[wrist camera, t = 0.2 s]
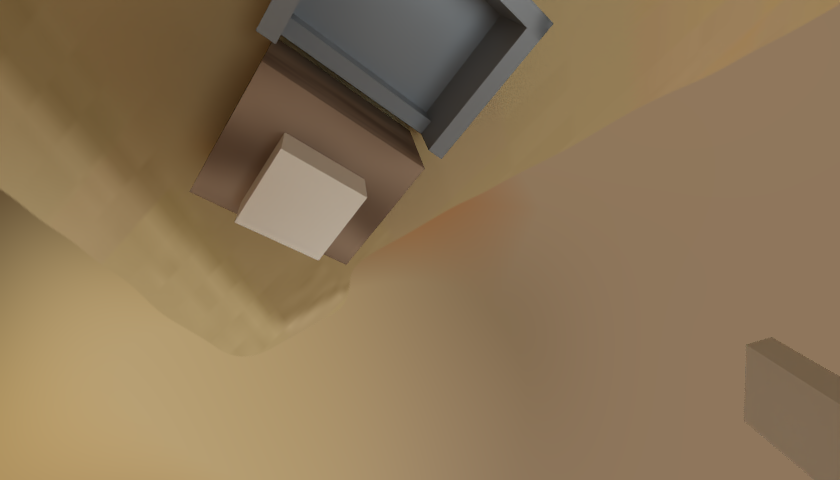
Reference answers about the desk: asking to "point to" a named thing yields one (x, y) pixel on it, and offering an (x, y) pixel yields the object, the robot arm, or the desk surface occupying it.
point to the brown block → (311, 141)
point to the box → (415, 52)
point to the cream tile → (301, 198)
